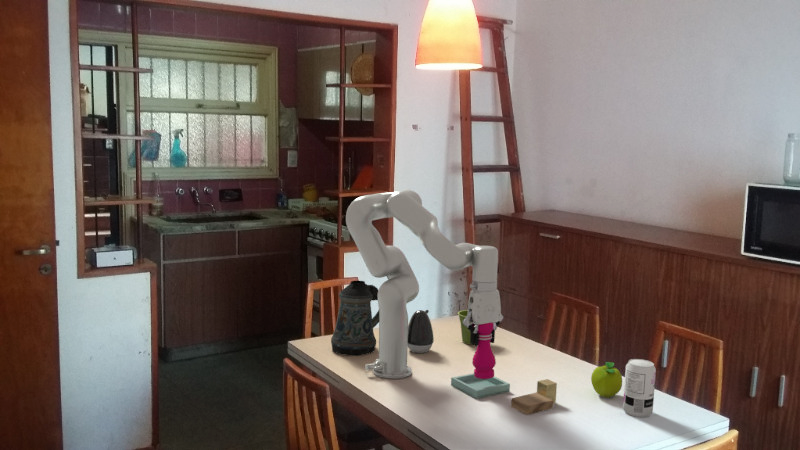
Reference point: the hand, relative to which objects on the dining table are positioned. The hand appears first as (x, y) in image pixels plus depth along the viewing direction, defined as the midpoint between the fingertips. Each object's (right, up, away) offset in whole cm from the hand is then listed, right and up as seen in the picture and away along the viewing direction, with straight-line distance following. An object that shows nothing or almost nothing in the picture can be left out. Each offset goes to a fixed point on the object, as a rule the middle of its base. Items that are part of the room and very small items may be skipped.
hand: (482, 342), depth 223 cm
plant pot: (+2, -8, +51) cm, 52 cm away
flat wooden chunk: (+13, -17, -12) cm, 25 cm away
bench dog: (+18, -16, -7) cm, 26 cm away
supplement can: (+43, -18, -14) cm, 49 cm away
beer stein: (-42, -9, +40) cm, 58 cm away
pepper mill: (+1, -11, +1) cm, 11 cm away
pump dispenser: (-19, -10, +39) cm, 44 cm away
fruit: (+38, -16, -1) cm, 41 cm away
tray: (-1, -15, +2) cm, 15 cm away
